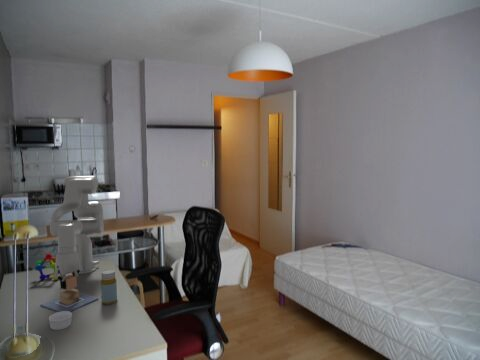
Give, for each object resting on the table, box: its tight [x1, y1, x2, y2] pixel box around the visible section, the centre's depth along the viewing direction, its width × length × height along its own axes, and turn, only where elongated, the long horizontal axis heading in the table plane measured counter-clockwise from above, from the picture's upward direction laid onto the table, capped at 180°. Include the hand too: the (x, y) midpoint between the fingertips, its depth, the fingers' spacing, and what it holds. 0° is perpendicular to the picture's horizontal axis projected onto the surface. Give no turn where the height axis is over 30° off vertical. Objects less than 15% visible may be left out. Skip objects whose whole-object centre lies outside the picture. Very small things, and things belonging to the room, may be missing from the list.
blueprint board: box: [40, 292, 99, 313], centre depth 173 cm, size 18×18×1 cm
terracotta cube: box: [65, 274, 78, 290], centre depth 172 cm, size 5×5×5 cm
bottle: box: [100, 269, 118, 305], centre depth 173 cm, size 7×7×15 cm
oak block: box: [59, 288, 80, 305], centre depth 173 cm, size 6×6×5 cm
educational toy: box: [35, 253, 60, 281], centre depth 203 cm, size 16×13×15 cm
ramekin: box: [48, 311, 73, 331], centre depth 150 cm, size 9×9×4 cm
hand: (68, 286), depth 172 cm, fingers closed on terracotta cube, 5 cm apart
